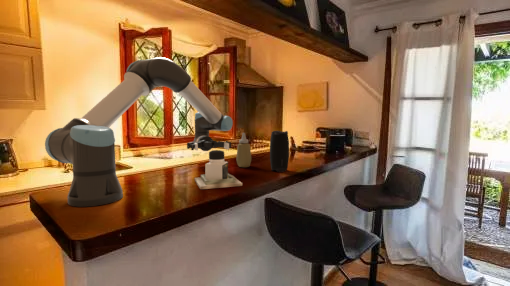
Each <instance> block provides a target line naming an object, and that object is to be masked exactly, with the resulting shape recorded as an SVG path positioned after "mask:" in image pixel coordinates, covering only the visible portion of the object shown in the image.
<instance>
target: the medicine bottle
mask: <svg viewBox="0 0 510 286" xmlns="http://www.w3.org/2000/svg"><path fill="white" fill-rule="evenodd" d="M208 161H209V162H207V163H205V165H204V166H205V169H204V171H205V174H204V175H205V176H206V180H217V179H228V173H229V162H228V161H225V151H224V150H221V149H220V150H219V149H214V150H213V149H212V150H211V151H210V150H209V152H208Z"/></svg>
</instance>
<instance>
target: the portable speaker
mask: <svg viewBox="0 0 510 286" xmlns="http://www.w3.org/2000/svg"><path fill="white" fill-rule="evenodd" d="M288 134H289V132H288V130H285V131H282V130H281V131H280V130H272V131H271V134H270V135H271V136H270V140H269V141H270V142H269V161H270V168H271V171H276V172H277V173H284V172H285V173H286V171H288V168H289V159H290V140H289V135H288Z"/></svg>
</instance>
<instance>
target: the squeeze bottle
mask: <svg viewBox="0 0 510 286" xmlns="http://www.w3.org/2000/svg"><path fill="white" fill-rule="evenodd" d="M238 142H239V143H237V149H236V164H237V166H238V167H239V168H249V167H250V166H251V162H252V151H251V144H250V143H249V140H248V139H247V135H246V132H242V136H241V139H239V141H238Z"/></svg>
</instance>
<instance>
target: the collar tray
mask: <svg viewBox="0 0 510 286" xmlns="http://www.w3.org/2000/svg"><path fill="white" fill-rule="evenodd" d="M194 181H195V183H196V185H197V186H198V189H200V190H208V189H219V188H220V189H222V188H230V187H231V188H232V187H242V186H243V182H241V181H240V180H239V179H237V178H236V177H235V176H234V175H232V174H230V173H229V172H228V179H217V180H206V176H205V174H200V177H194Z"/></svg>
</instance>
